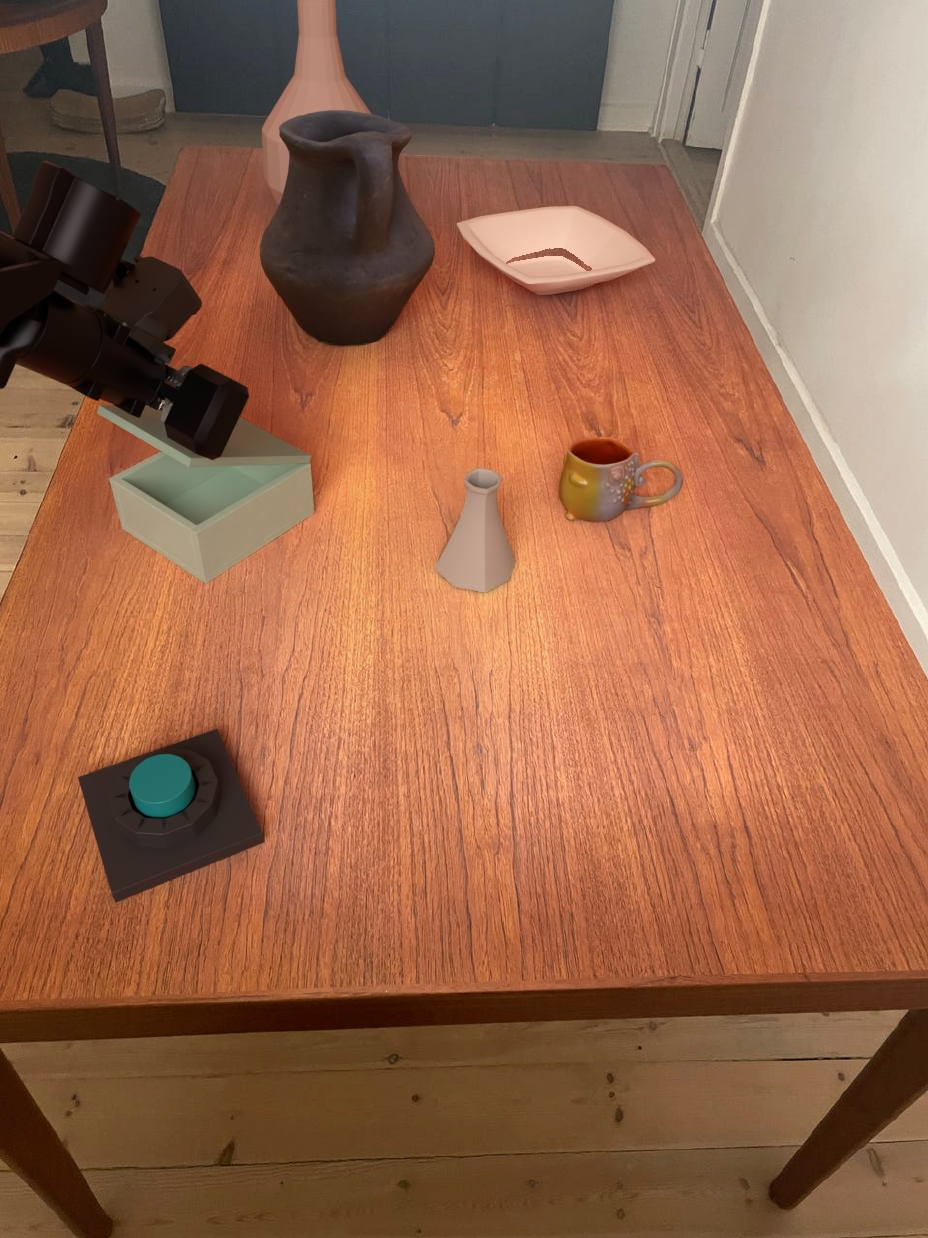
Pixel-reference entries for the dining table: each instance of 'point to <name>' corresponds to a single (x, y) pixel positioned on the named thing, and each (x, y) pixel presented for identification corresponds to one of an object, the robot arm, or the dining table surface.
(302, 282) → the pitcher
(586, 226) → the bowl
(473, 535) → the flask
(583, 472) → the mug
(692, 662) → the dining table surface
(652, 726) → the dining table surface
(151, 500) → the gray-green storage box
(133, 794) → the button
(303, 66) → the vase
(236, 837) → the panel
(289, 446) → the lid
